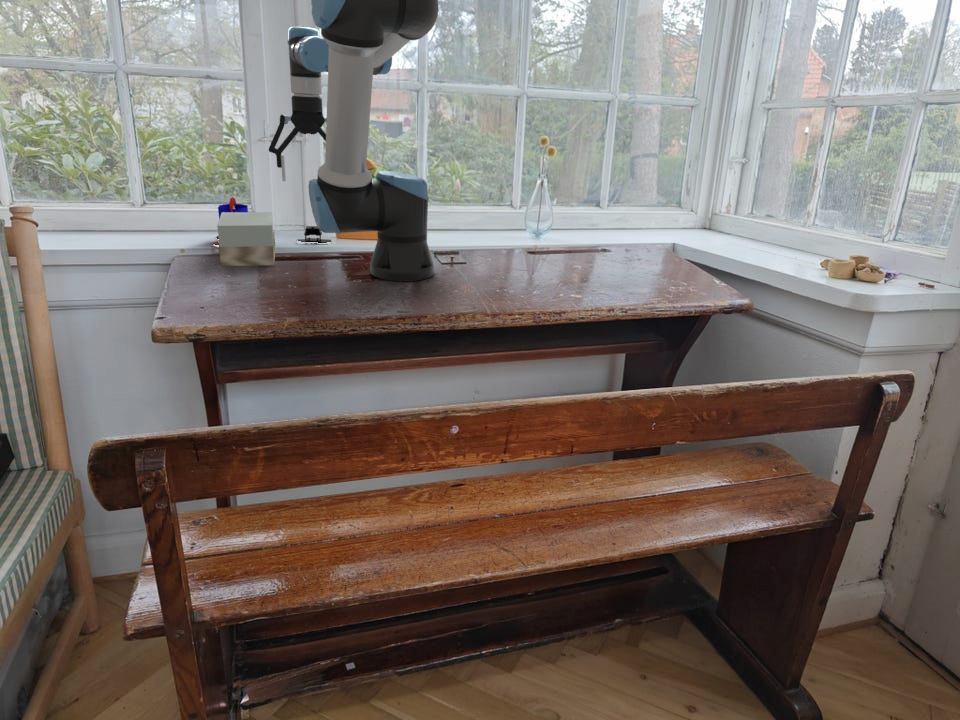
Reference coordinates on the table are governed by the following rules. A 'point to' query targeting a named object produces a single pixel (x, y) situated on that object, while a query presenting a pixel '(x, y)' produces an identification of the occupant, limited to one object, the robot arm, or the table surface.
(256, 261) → the base block
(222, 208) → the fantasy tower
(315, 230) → the build plate
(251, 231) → the top block
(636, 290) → the table surface
